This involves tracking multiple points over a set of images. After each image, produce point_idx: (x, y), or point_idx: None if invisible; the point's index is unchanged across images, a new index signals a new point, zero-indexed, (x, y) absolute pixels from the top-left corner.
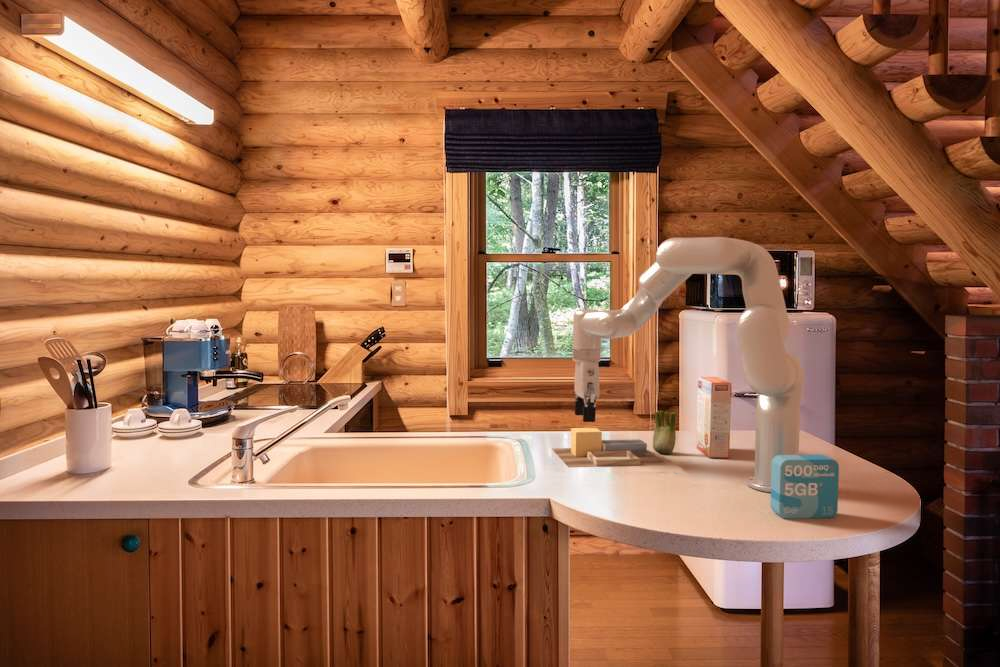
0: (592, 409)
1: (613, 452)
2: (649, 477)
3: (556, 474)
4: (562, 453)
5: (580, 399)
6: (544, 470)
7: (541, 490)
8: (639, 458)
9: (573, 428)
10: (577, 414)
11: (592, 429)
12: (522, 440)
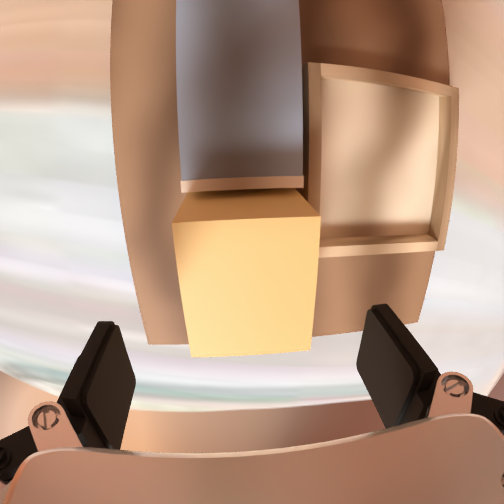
0: (438, 377)
1: (320, 137)
2: (500, 109)
3: (419, 340)
4: None
5: (94, 447)
6: None
7: (489, 358)
8: (352, 41)
9: (200, 348)
10: (131, 374)
11: (236, 257)
12: (15, 368)
